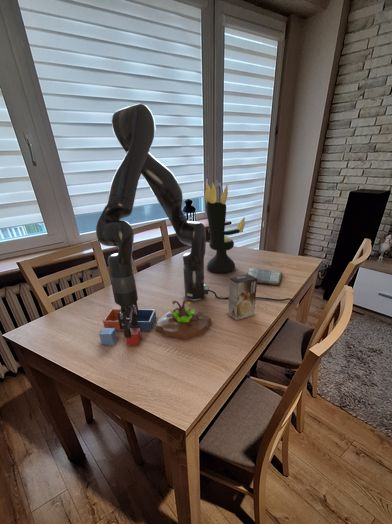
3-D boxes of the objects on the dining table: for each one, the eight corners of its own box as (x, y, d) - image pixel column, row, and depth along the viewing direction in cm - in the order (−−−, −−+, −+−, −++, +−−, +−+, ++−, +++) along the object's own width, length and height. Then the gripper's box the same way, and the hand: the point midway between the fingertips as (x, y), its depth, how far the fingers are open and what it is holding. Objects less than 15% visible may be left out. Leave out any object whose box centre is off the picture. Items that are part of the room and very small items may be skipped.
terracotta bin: (134, 317, 116) (133, 309, 113) (127, 330, 107) (125, 321, 105) (113, 317, 116) (111, 308, 114) (105, 330, 108) (102, 321, 105)
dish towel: (279, 286, 140) (280, 280, 138) (244, 282, 145) (244, 276, 143) (282, 274, 155) (283, 268, 153) (250, 271, 159) (250, 265, 158)
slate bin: (156, 318, 115) (155, 309, 113) (150, 331, 106) (149, 322, 104) (135, 317, 116) (133, 309, 113) (128, 330, 107) (126, 321, 105)
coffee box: (245, 309, 120) (248, 273, 111) (254, 315, 115) (258, 278, 106) (227, 314, 116) (229, 277, 107) (236, 320, 112) (238, 282, 103)
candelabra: (242, 267, 166) (249, 179, 140) (225, 278, 150) (229, 183, 124) (215, 262, 174) (216, 179, 148) (196, 273, 159) (194, 182, 133)
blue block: (117, 338, 103) (115, 327, 100) (113, 344, 99) (111, 334, 97) (105, 337, 103) (103, 327, 100) (101, 344, 99) (99, 334, 97)
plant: (191, 344, 98) (190, 316, 92) (148, 330, 107) (145, 304, 100) (217, 320, 112) (218, 295, 105) (178, 310, 121) (176, 285, 114)
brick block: (141, 338, 102) (140, 328, 99) (138, 345, 98) (137, 334, 96) (130, 338, 102) (128, 328, 100) (126, 345, 99) (124, 334, 96)
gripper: (129, 297, 82) (137, 342, 91) (141, 280, 94) (146, 321, 103) (105, 296, 83) (115, 341, 92) (119, 279, 94) (127, 321, 104)
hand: (131, 331), depth 98 cm, fingers open, 8 cm apart
